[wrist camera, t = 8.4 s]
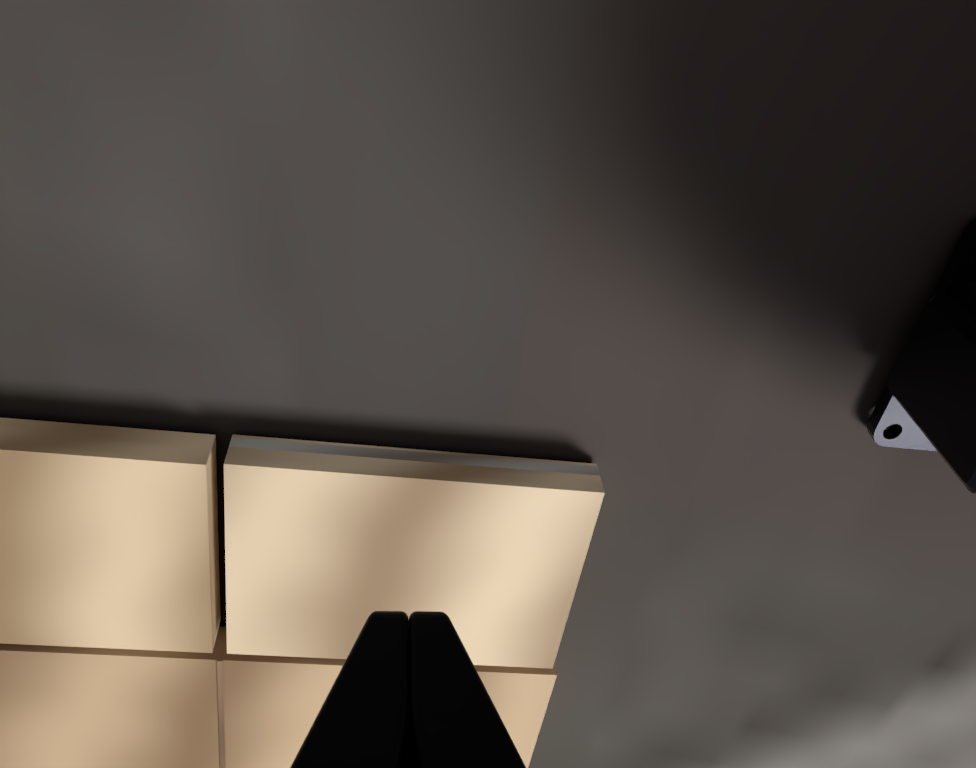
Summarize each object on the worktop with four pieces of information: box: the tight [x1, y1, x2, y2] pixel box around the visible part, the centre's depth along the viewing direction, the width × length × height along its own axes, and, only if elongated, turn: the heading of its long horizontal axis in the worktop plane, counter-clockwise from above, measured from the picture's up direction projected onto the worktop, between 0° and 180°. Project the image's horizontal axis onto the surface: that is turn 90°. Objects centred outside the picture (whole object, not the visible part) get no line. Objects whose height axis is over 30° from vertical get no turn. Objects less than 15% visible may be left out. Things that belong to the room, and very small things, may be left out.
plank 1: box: [0, 417, 221, 653], centre depth 22 cm, size 10×7×1 cm
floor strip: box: [0, 627, 557, 768], centre depth 27 cm, size 20×8×1 cm, turn 81°
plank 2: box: [224, 435, 605, 669], centre depth 24 cm, size 10×7×1 cm
